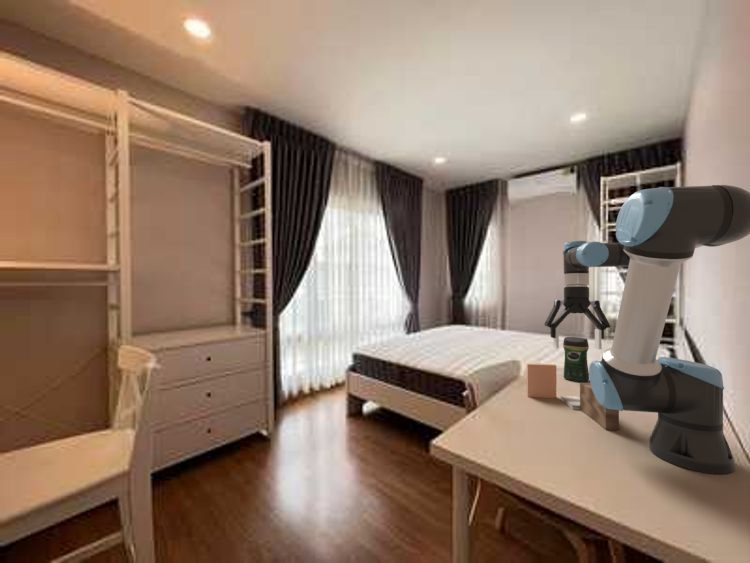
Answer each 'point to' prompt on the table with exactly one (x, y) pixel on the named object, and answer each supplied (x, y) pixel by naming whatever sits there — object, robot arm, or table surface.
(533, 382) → the tile
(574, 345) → the coffee jar
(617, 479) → the table surface
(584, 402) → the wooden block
